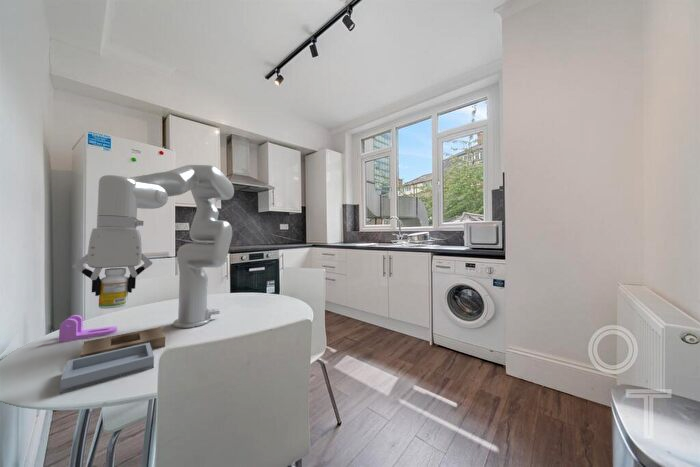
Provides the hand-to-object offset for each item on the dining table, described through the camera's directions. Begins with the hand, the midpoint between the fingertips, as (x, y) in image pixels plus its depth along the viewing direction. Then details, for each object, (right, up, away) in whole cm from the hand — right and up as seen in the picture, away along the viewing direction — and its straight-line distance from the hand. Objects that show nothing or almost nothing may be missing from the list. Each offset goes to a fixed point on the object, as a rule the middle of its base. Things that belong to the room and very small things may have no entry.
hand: (114, 292), depth 64 cm
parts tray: (0, -20, -1) cm, 20 cm away
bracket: (-28, -20, +20) cm, 39 cm away
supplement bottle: (0, -4, 0) cm, 4 cm away
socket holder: (-7, -20, +11) cm, 24 cm away
